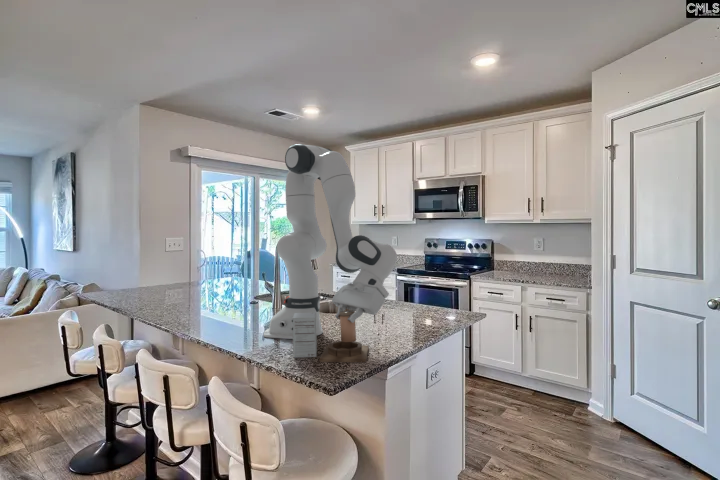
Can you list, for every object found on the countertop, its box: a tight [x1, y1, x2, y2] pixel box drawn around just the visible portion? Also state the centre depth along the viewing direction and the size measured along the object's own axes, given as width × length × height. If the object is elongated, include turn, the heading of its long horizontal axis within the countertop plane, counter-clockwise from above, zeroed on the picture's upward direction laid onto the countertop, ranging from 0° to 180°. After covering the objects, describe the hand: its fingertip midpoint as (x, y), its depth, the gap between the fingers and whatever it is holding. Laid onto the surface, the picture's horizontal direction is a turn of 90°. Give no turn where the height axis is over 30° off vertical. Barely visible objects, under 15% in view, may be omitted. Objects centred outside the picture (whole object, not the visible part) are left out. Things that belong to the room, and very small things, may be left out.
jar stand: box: [318, 340, 370, 364], centre depth 124 cm, size 14×14×3 cm
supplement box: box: [292, 313, 318, 359], centre depth 125 cm, size 7×7×13 cm
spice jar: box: [339, 310, 357, 342], centre depth 124 cm, size 5×5×9 cm
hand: (343, 319), depth 123 cm, fingers closed on spice jar, 5 cm apart
